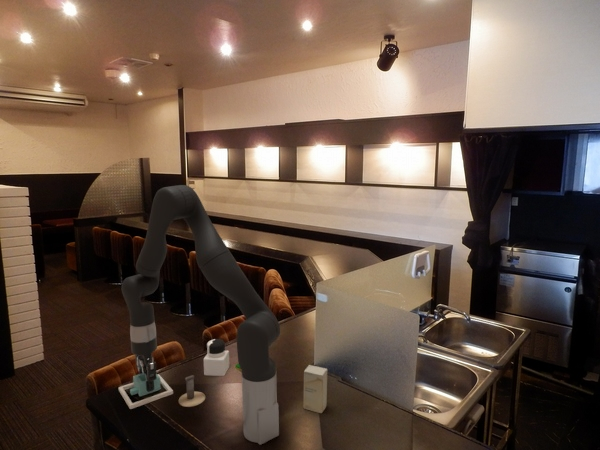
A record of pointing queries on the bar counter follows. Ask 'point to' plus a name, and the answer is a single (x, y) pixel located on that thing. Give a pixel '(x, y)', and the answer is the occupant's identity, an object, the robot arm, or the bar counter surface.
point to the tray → (147, 400)
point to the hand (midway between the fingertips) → (146, 385)
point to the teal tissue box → (143, 385)
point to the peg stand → (191, 394)
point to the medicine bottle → (216, 358)
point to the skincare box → (315, 388)
